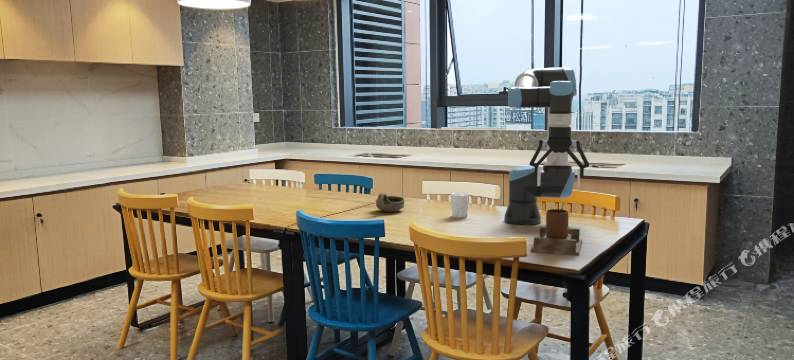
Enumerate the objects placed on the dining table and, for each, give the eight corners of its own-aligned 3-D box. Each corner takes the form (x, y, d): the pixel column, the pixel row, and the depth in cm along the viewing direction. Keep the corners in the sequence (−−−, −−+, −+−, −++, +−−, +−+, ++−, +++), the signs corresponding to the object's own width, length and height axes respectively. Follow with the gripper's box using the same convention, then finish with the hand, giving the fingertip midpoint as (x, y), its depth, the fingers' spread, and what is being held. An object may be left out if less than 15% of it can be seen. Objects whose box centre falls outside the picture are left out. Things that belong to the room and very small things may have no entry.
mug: (551, 231, 231) (552, 206, 230) (572, 233, 228) (573, 207, 227) (543, 238, 221) (543, 212, 220) (565, 240, 217) (565, 213, 216)
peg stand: (530, 251, 219) (531, 237, 218) (537, 239, 237) (537, 226, 236) (578, 255, 214) (579, 240, 213) (582, 242, 231) (582, 228, 231)
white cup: (448, 217, 278) (448, 195, 277) (453, 214, 286) (453, 192, 284) (465, 218, 275) (465, 196, 274) (470, 215, 283) (470, 193, 281)
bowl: (410, 209, 297) (410, 188, 296) (392, 216, 282) (392, 194, 280) (384, 207, 303) (384, 187, 302) (366, 214, 288) (365, 192, 287)
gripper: (522, 126, 220) (521, 186, 223) (597, 127, 212) (595, 189, 215) (525, 124, 227) (524, 183, 230) (598, 125, 219) (596, 186, 222)
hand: (558, 186), depth 223 cm, fingers open, 13 cm apart
